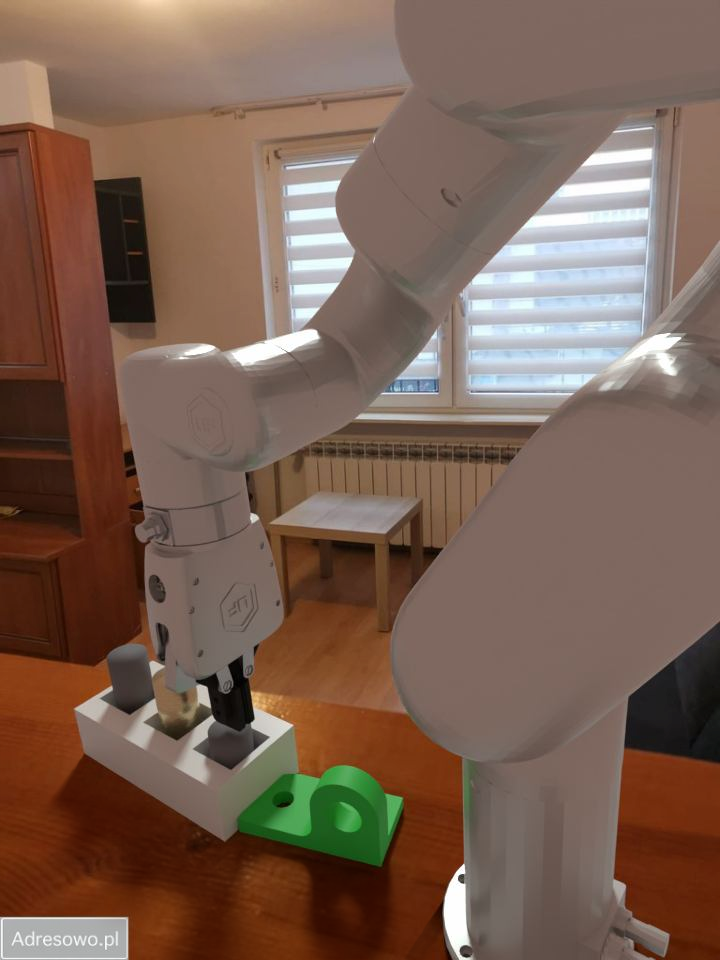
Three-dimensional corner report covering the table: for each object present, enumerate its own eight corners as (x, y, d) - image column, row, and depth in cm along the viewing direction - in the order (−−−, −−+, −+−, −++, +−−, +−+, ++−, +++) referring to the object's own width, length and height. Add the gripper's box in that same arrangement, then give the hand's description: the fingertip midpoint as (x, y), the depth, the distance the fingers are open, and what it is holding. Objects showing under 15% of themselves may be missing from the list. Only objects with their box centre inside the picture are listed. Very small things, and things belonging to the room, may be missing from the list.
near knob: (267, 781, 62) (260, 724, 60) (238, 808, 59) (228, 749, 57) (238, 765, 64) (229, 709, 62) (208, 791, 61) (198, 733, 59)
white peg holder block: (299, 780, 64) (293, 725, 62) (226, 850, 57) (216, 791, 55) (161, 709, 75) (152, 660, 73) (86, 761, 68) (74, 708, 66)
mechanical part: (403, 816, 59) (401, 738, 56) (381, 876, 54) (377, 793, 51) (272, 785, 63) (264, 710, 60) (240, 838, 58) (229, 759, 55)
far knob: (164, 704, 68) (154, 650, 66) (133, 725, 66) (122, 670, 64) (141, 692, 70) (130, 639, 68) (110, 712, 68) (98, 658, 66)
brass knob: (211, 728, 65) (202, 671, 63) (180, 751, 62) (170, 693, 60) (185, 714, 67) (175, 659, 65) (154, 736, 64) (143, 680, 62)
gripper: (149, 564, 45) (196, 796, 51) (302, 489, 56) (326, 686, 62) (81, 543, 50) (131, 759, 55) (235, 477, 61) (264, 663, 67)
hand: (234, 720), depth 59 cm, fingers closed
